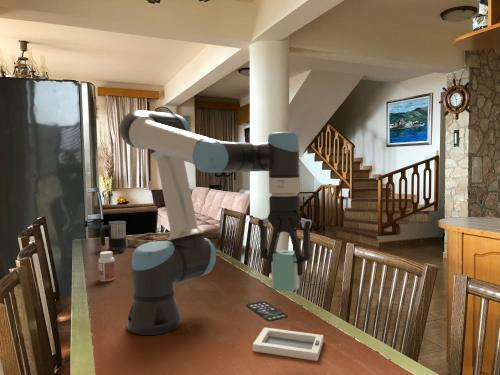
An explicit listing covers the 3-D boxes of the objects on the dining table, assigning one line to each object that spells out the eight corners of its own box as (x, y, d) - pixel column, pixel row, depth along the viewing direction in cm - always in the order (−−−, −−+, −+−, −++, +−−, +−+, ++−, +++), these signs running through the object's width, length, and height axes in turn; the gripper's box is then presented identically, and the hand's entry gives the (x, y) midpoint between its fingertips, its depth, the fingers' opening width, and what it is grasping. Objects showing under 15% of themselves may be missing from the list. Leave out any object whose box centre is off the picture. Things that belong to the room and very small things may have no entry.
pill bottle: (117, 277, 161) (116, 250, 161) (112, 281, 155) (111, 253, 155) (101, 277, 161) (101, 250, 161) (96, 281, 155) (95, 254, 154)
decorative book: (154, 248, 217) (154, 239, 217) (143, 243, 230) (142, 235, 229) (173, 245, 224) (173, 237, 224) (161, 241, 237) (160, 233, 236)
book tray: (127, 246, 221) (127, 239, 221) (148, 239, 241) (148, 232, 241) (164, 249, 214) (164, 241, 213) (183, 241, 234) (183, 235, 234)
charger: (273, 289, 98) (272, 253, 97) (278, 284, 103) (277, 249, 102) (293, 291, 96) (292, 254, 96) (297, 285, 101) (296, 250, 100)
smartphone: (268, 320, 116) (244, 304, 129) (268, 323, 116) (244, 306, 129) (289, 316, 120) (264, 300, 133) (289, 318, 120) (264, 302, 133)
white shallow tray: (252, 351, 98) (252, 342, 98) (264, 333, 108) (264, 326, 108) (317, 360, 93) (317, 352, 93) (323, 341, 103) (323, 334, 103)
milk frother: (120, 246, 222) (119, 220, 221) (137, 249, 213) (137, 222, 212) (97, 250, 211) (96, 223, 210) (114, 254, 201) (114, 226, 200)
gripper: (245, 195, 98) (246, 288, 99) (318, 196, 92) (319, 294, 93) (254, 193, 105) (256, 280, 106) (322, 193, 99) (323, 285, 100)
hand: (285, 286), depth 99 cm, fingers closed on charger, 5 cm apart
